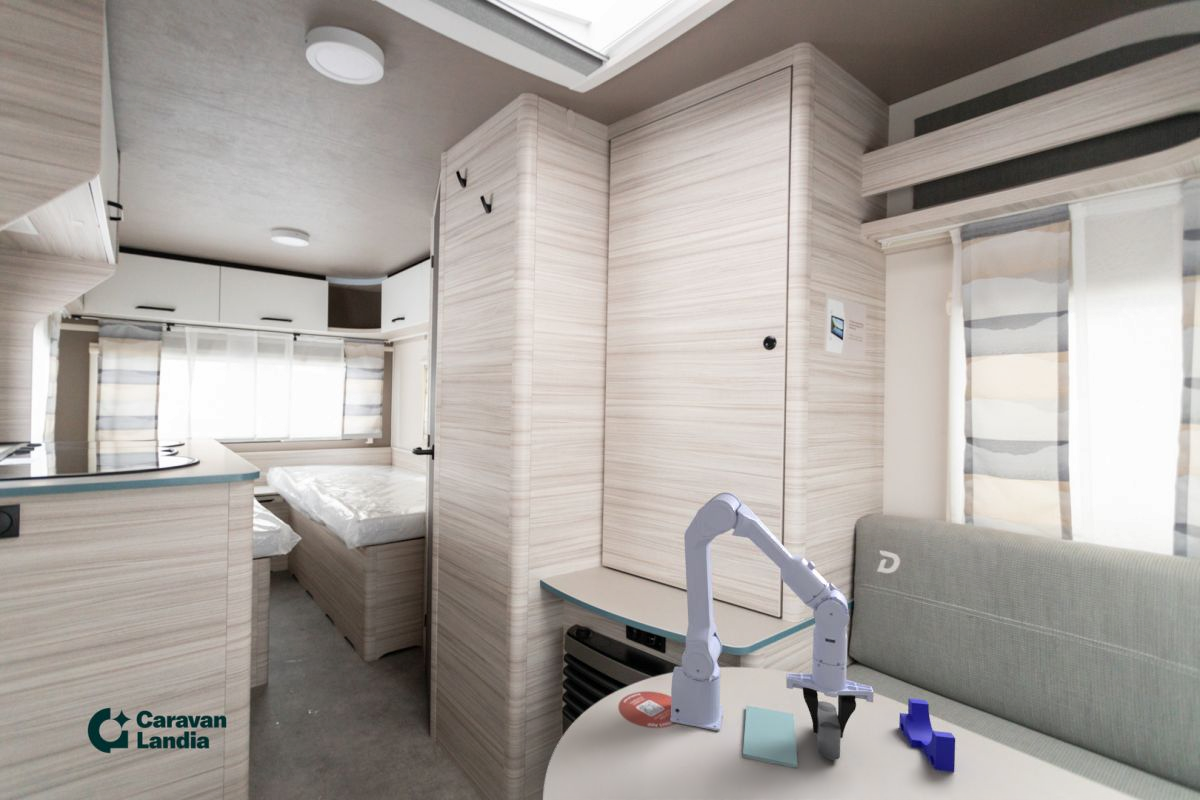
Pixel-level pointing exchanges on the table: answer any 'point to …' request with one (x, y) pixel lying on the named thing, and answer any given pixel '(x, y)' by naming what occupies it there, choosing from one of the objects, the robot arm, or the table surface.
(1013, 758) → the table surface
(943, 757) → the cable clip
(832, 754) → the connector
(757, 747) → the rubber mat
